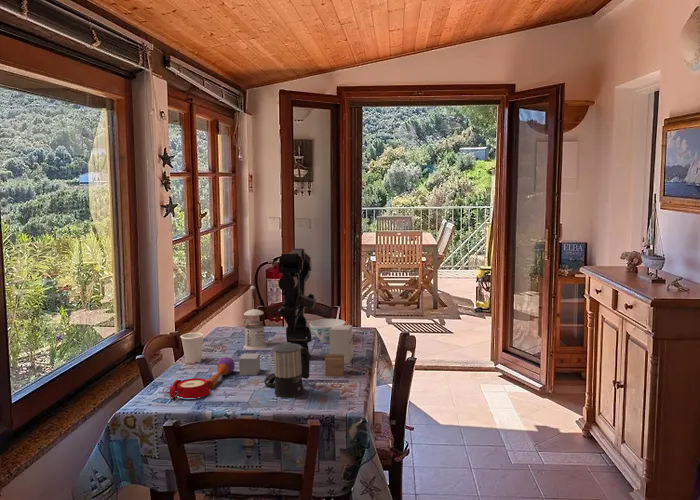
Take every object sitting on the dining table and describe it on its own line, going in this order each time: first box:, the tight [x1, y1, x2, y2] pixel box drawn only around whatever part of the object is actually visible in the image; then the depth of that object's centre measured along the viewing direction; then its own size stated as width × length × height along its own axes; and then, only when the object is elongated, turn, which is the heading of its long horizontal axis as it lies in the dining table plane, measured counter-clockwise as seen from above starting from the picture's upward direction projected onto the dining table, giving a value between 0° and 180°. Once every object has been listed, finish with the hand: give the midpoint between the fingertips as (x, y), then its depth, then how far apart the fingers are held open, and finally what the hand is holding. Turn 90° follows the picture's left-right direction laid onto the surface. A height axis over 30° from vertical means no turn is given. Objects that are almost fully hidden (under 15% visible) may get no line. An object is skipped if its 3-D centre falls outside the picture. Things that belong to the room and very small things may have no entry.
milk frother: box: [263, 343, 311, 398], centre depth 196 cm, size 14×16×15 cm
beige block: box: [238, 353, 261, 376], centre depth 215 cm, size 6×6×6 cm
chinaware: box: [309, 318, 346, 344], centre depth 255 cm, size 15×15×8 cm
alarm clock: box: [161, 377, 214, 398], centre depth 194 cm, size 10×6×15 cm
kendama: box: [206, 356, 236, 390], centre depth 208 cm, size 6×6×20 cm
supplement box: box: [329, 324, 354, 364], centre depth 226 cm, size 7×7×13 cm
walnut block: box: [324, 353, 345, 377], centre depth 211 cm, size 6×6×6 cm
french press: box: [240, 285, 268, 351], centre depth 248 cm, size 10×12×25 cm
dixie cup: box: [180, 332, 204, 363], centre depth 230 cm, size 8×8×10 cm
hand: (292, 332), depth 217 cm, fingers closed
